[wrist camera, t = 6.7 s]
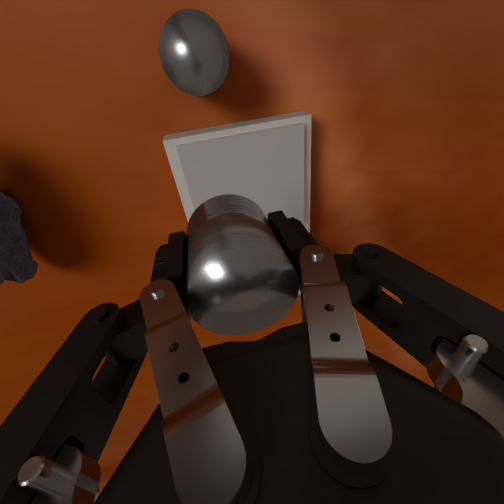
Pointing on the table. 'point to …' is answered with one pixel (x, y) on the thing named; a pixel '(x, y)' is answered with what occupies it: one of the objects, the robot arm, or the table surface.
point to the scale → (246, 163)
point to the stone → (14, 243)
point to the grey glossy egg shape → (236, 268)
